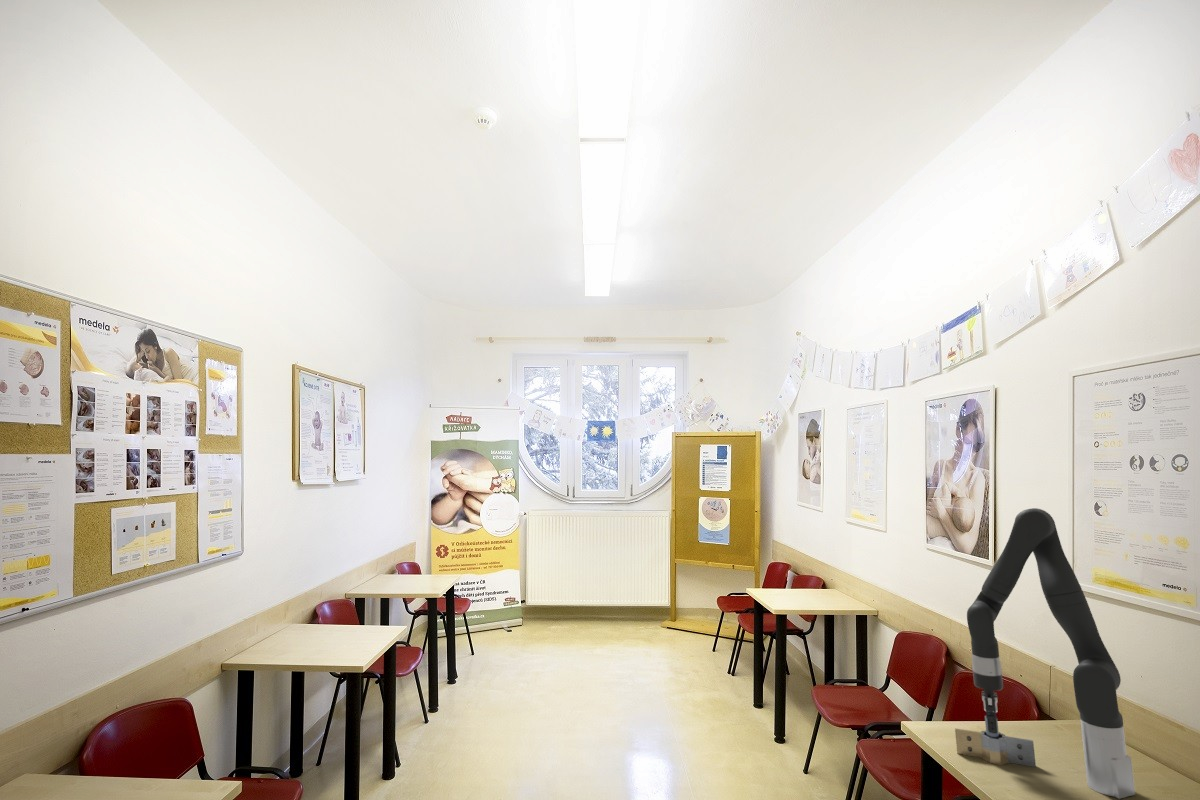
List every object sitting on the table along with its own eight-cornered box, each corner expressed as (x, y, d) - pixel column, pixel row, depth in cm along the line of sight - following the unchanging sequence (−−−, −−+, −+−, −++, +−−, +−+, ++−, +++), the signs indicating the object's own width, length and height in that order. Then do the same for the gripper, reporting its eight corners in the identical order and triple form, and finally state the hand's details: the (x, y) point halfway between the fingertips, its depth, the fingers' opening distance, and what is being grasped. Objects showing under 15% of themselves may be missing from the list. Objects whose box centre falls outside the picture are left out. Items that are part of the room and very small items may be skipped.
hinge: (1034, 761, 186) (1032, 736, 187) (1036, 771, 180) (1034, 745, 181) (957, 748, 196) (955, 725, 196) (957, 757, 190) (954, 732, 191)
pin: (1004, 761, 187) (999, 718, 188) (995, 762, 186) (991, 720, 187) (994, 756, 190) (990, 714, 191) (986, 758, 189) (982, 716, 190)
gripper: (1002, 679, 183) (1008, 738, 181) (1000, 665, 195) (1006, 720, 193) (972, 676, 186) (978, 734, 185) (972, 662, 199) (977, 716, 197)
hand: (992, 727), depth 189 cm, fingers open, 8 cm apart
